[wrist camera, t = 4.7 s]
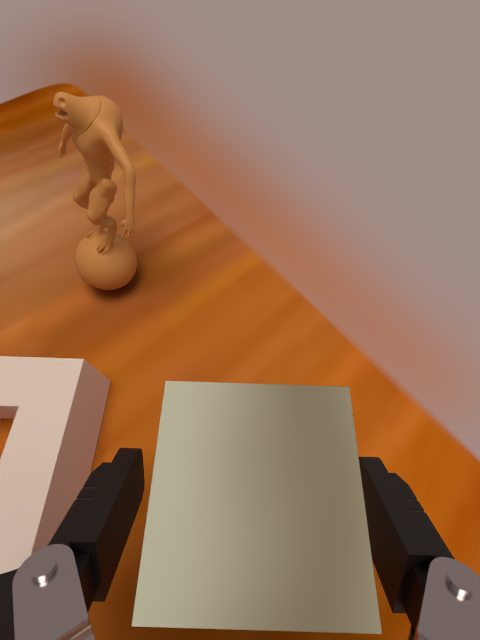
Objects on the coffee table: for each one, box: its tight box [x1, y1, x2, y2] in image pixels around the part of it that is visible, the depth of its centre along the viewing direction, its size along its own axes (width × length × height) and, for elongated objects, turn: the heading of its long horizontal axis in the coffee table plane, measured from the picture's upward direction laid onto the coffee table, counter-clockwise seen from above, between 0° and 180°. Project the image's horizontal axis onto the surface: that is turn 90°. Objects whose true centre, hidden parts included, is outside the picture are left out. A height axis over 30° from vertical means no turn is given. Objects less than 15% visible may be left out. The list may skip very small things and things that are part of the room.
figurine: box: [53, 92, 137, 290], centre depth 18 cm, size 8×6×12 cm
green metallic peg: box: [132, 381, 382, 634], centre depth 12 cm, size 4×4×12 cm
